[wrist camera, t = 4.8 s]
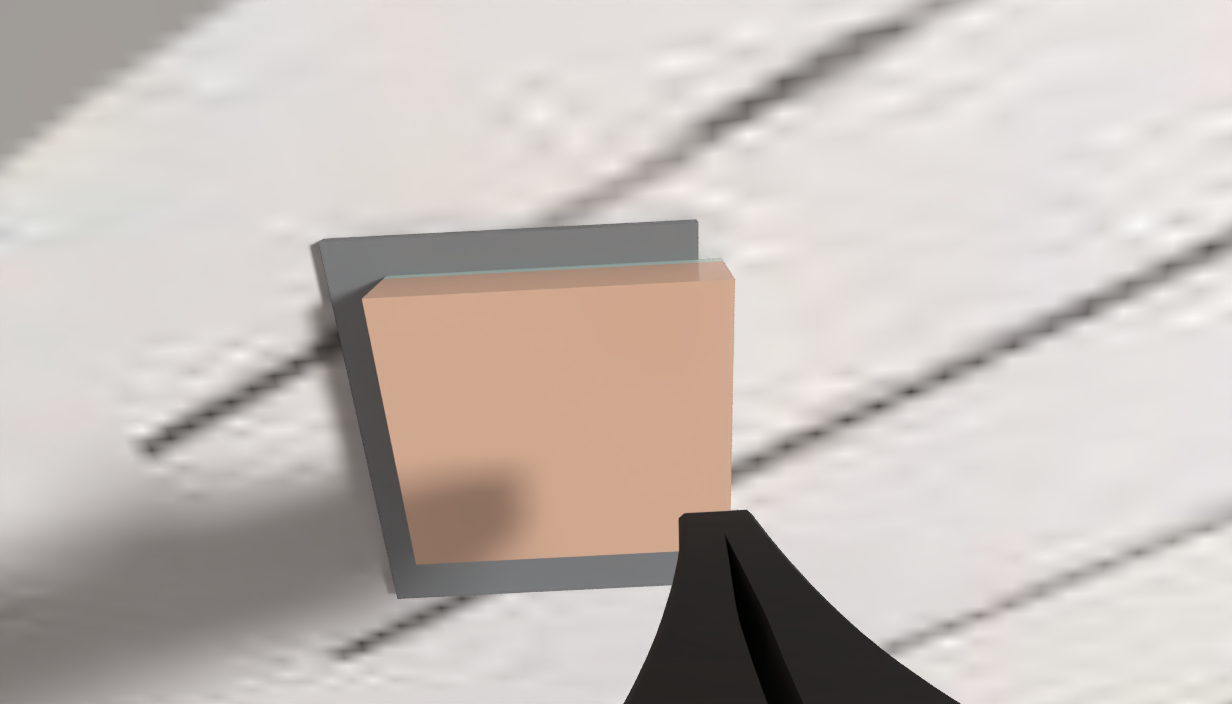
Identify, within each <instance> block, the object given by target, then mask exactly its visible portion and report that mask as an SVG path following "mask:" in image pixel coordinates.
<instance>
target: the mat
mask: <svg viewBox="0 0 1232 704" xmlns="http://www.w3.org/2000/svg"><path fill="white" fill-rule="evenodd" d="M319 247H320V251H321V256H322V260H323V265H324V269H325V274H326V278H327V283H328V287H329V292H330V296H331V301H332V305H333V310H334V314H335V319H336V323H337V328H338V332H339V337H340V341H341V346H342V350H343V355H344V360H345V364H346V369H347V373H348V378H349V382H350V387H351V391H352V396H353V400H354V405H355V409H356V414H357V418H358V423H359V427H360V432H361V436H362V441H363V445H364V450H365V454H366V459H367V463H368V468H369V472H370V477H371V481H372V486H373V490H374V495H375V499H376V504H377V508H378V513H379V517H380V522H381V527H382V531H383V536H384V540H385V545H386V549H387V554H388V558H389V563H390V567H391V572H392V576H393V581H394V585H395V590H396V594H397V599H403V598H423V597H443V596H463V595H483V594H503V593H523V592H543V591H563V590H583V589H604V588H624V587H644V586H664V585H672V583H673V578H674V574H675V569H676V565H677V560H678V553H679V551H675V552H655V553H636V554H616V555H596V556H577V557H557V558H537V559H518V560H498V561H478V562H459V563H439V564H419V565H416V562H415V557H414V552H413V547H412V542H411V537H410V532H409V527H408V522H407V517H406V513H405V508H404V503H403V498H402V493H401V488H400V483H399V478H398V473H397V468H396V464H395V459H394V454H393V449H392V444H391V439H390V434H389V429H388V424H387V419H386V415H385V410H384V405H383V400H382V395H381V390H380V385H379V380H378V375H377V370H376V366H375V361H374V356H373V351H372V346H371V341H370V336H369V331H368V326H367V321H366V317H365V312H364V307H363V302H362V298H363V297H364V296H365V295H367V294H368V293H369V292H370V291H371V290H372V289H373V288H374V287H375V286H376V285H377V284H378V283H380V282H381V281H382V280H383V279H384V278H385V277H386V276H394V275H413V274H432V273H451V272H470V271H489V270H508V269H527V268H546V267H566V266H585V265H604V264H623V263H642V262H661V261H680V260H698V221H697V220H679V221H660V222H640V223H621V224H601V225H582V226H563V227H543V228H524V229H504V230H485V231H466V232H446V233H427V234H407V235H388V236H369V237H349V238H330V239H323V240H321V241H320V242H319Z"/></svg>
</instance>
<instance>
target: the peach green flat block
mask: <svg viewBox="0 0 1232 704" xmlns="http://www.w3.org/2000/svg"><path fill="white" fill-rule="evenodd" d="M362 302H363V307H364V312H365V317H366V321H367V326H368V331H369V336H370V341H371V346H372V351H373V356H374V361H375V366H376V370H377V375H378V380H379V385H380V390H381V395H382V400H383V405H384V410H385V415H386V419H387V424H388V429H389V434H390V439H391V444H392V449H393V454H394V459H395V464H396V468H397V473H398V478H399V483H400V488H401V493H402V498H403V503H404V508H405V513H406V517H407V522H408V527H409V532H410V537H411V542H412V547H413V552H414V557H415V562H416V565H419V564H439V563H459V562H478V561H498V560H518V559H537V558H557V557H577V556H596V555H616V554H636V553H655V552H675V551H679V523H678V518H679V517H680V516H682V515H683V514H684V513H695V512H715V511H730V506H731V455H732V404H733V353H734V302H735V279H734V277H733V276H732V274H731V272H730V271H729V269H728V268H727V266H726V265H725V263H724V262H723V260H722V258H718V259H699V260H680V261H661V262H642V263H623V264H604V265H585V266H566V267H546V268H527V269H508V270H489V271H470V272H451V273H432V274H413V275H394V276H386V277H385V278H384V279H383V280H382V281H381V282H380V283H378V284H377V285H376V286H375V287H374V288H373V289H372V290H371V291H370V292H369V293H368V294H367V295H365V296H364V297H363V298H362Z"/></svg>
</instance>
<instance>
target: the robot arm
mask: <svg viewBox="0 0 1232 704" xmlns="http://www.w3.org/2000/svg"><path fill="white" fill-rule="evenodd" d="M678 523H679V553H678V560H677V565H676V569H675V574H674V578H673V583H672V587H671V591H670V594H669V597H668V601H667V604H666V607H665V610H664V614H663V617H662V620H661V623H660V625H659V628H658V631H657V634H656V636H655V639H654V641H653V644H652V646H651V648H650V651H649V653H648V656H647V658H646V660H645V662H644V664H643V666H642V668H641V671H640V673H639V675H638V677H637V679H636V681H635V683H634V685H633V687H632V689H631V691H630V693H629V695H628V696H627V698H626V700H625V702H624V704H960V703H959V702H957V701H955V700H954V699H952V698H951V697H949V696H948V695H946V694H945V693H943V692H941V691H940V690H938V689H937V688H935V687H934V686H932V685H931V684H929V683H928V682H927V681H925V680H924V679H922V678H921V677H919V676H918V675H917V674H915V673H914V672H912V671H911V670H909V669H908V668H907V667H905V666H904V665H902V664H901V663H899V662H898V661H897V660H895V659H894V658H893V657H891V656H890V655H889V654H887V653H886V652H885V651H884V650H882V649H881V648H880V647H879V646H877V645H876V644H875V643H874V642H873V641H871V640H870V639H869V638H868V637H866V636H865V635H864V634H863V633H862V632H860V631H859V630H858V629H857V628H856V627H855V626H854V625H853V624H851V623H850V622H849V621H848V620H847V619H846V618H845V617H844V616H843V615H842V614H841V613H840V612H838V611H837V610H836V609H835V608H834V607H833V606H832V605H831V604H830V603H829V602H828V601H827V600H826V599H825V598H824V597H823V596H822V595H821V594H820V593H819V592H818V591H817V590H816V589H815V588H814V587H813V586H812V585H811V584H810V583H809V581H808V580H807V579H806V578H805V577H804V576H803V575H802V574H801V573H800V572H799V571H798V570H797V568H796V567H795V566H794V565H793V564H792V563H791V562H790V561H789V560H788V558H787V557H786V556H785V555H784V554H783V553H782V551H781V550H780V549H779V548H778V547H777V545H776V544H775V543H774V542H773V541H772V539H771V538H770V537H769V536H768V534H767V533H766V532H765V531H764V529H763V528H762V527H761V525H760V524H759V523H758V522H757V520H756V519H755V518H754V516H753V515H752V514H751V513H750V512H749V511H748V510H734V511H715V512H695V513H684V514H683V515H682V516H680V517H679V518H678Z"/></svg>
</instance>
